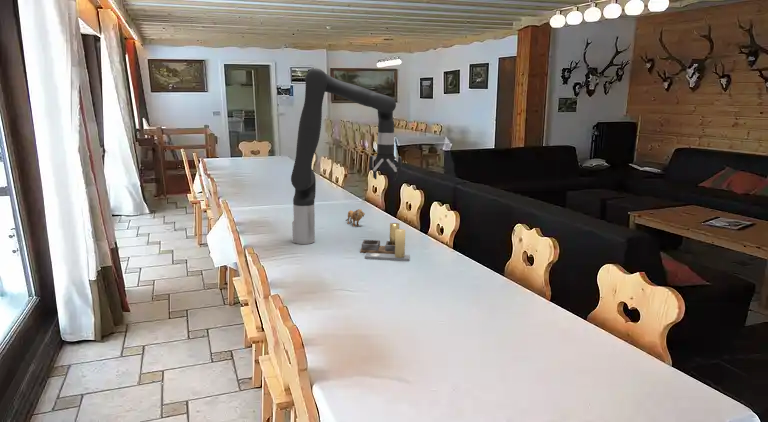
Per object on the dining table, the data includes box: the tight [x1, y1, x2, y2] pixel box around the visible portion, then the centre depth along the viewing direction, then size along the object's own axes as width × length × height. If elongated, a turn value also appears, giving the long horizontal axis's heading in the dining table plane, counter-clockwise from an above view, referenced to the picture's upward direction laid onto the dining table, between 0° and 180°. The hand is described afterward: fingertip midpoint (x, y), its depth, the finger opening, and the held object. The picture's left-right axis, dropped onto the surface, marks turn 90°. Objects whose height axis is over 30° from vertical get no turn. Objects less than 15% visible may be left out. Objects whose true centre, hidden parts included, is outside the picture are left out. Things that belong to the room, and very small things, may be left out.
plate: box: [364, 228, 411, 262], centre depth 205 cm, size 18×5×12 cm, turn 84°
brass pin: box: [389, 222, 400, 245], centre depth 214 cm, size 4×4×11 cm
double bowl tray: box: [359, 239, 395, 254], centre depth 215 cm, size 18×8×4 cm, turn 84°
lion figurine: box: [345, 208, 366, 227], centre depth 257 cm, size 15×5×9 cm, turn 39°
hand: (385, 179), depth 225 cm, fingers open, 8 cm apart
